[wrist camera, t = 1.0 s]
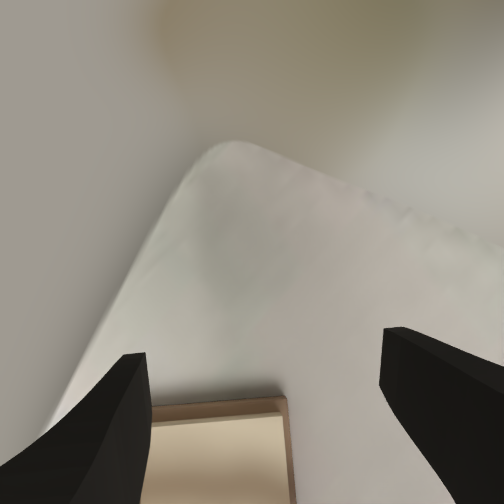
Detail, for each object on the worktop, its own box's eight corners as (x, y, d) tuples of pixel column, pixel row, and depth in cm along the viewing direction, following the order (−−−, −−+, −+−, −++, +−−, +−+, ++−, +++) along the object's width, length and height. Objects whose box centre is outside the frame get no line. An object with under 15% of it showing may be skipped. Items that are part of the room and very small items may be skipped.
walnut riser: (298, 555, 23) (302, 569, 22) (146, 570, 23) (139, 585, 22) (284, 395, 26) (286, 398, 24) (143, 407, 25) (137, 411, 24)
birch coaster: (292, 563, 22) (296, 579, 21) (148, 578, 22) (141, 595, 20) (279, 411, 24) (282, 416, 22) (146, 422, 24) (140, 428, 22)
